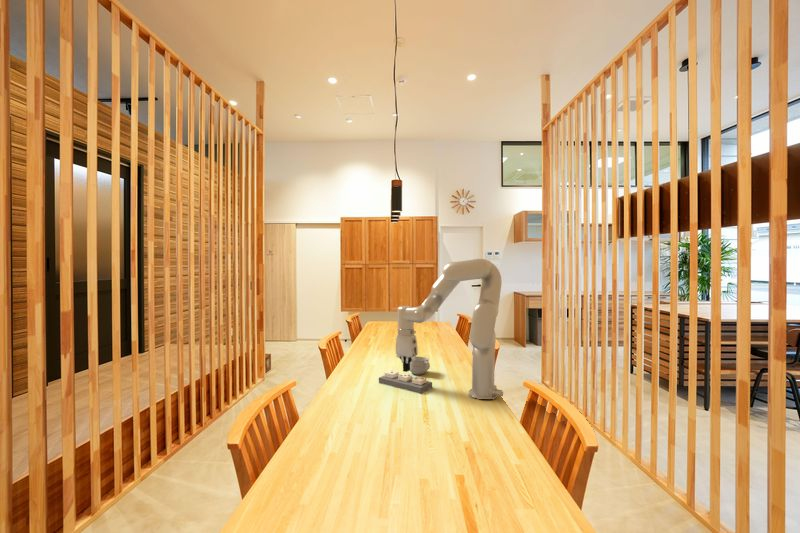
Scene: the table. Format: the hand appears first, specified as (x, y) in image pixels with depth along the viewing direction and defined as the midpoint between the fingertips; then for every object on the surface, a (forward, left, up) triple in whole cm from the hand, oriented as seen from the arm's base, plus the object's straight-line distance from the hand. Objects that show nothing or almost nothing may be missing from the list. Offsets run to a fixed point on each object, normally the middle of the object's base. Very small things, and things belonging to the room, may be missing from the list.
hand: (406, 370), depth 174 cm
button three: (+1, 0, -7) cm, 7 cm away
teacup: (+5, -19, -7) cm, 21 cm away
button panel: (+1, 0, -7) cm, 7 cm away
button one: (+9, 0, -7) cm, 11 cm away
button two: (-7, 0, -6) cm, 10 cm away
